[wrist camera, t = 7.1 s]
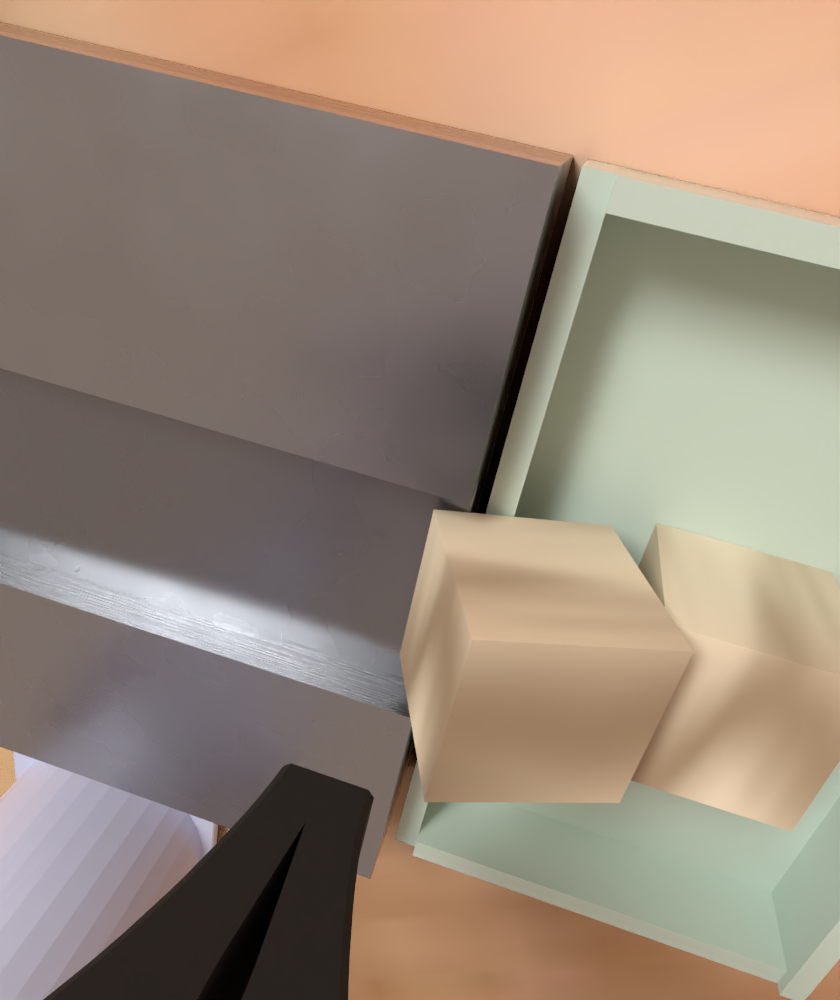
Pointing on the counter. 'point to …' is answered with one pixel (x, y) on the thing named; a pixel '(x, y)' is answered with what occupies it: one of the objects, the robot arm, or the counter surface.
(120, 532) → the slotted plate
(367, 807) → the robot arm
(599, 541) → the birch block front
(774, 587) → the birch block rear
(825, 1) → the counter surface
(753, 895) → the tray
